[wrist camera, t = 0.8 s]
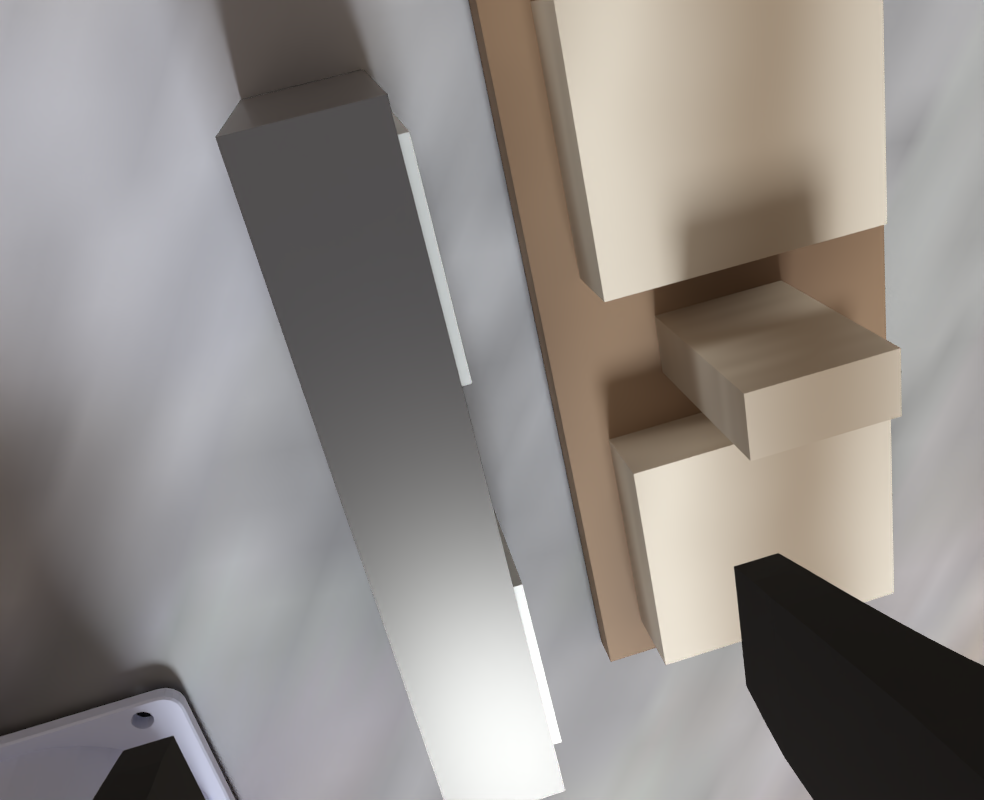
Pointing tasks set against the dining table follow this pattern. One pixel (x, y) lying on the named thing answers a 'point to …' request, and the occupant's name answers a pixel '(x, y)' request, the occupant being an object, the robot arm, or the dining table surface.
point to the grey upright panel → (396, 419)
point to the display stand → (705, 291)
